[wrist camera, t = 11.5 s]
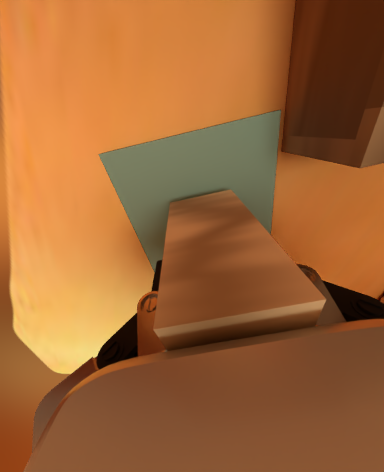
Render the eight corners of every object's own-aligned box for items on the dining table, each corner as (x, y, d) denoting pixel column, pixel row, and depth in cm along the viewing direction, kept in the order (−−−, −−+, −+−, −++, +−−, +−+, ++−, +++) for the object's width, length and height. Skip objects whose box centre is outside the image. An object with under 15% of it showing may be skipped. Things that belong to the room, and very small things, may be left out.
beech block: (230, 189, 12) (326, 299, 4) (235, 252, 15) (292, 378, 7) (169, 202, 12) (153, 329, 4) (187, 262, 15) (195, 392, 8)
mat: (277, 110, 10) (280, 109, 10) (266, 265, 18) (267, 267, 18) (101, 153, 11) (98, 154, 11) (162, 285, 19) (162, 288, 18)
